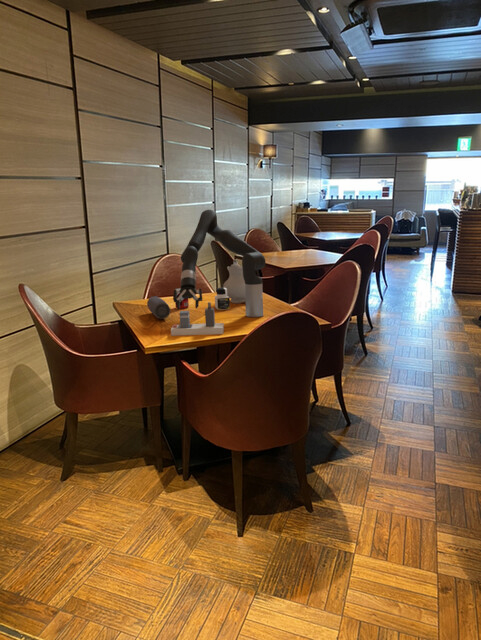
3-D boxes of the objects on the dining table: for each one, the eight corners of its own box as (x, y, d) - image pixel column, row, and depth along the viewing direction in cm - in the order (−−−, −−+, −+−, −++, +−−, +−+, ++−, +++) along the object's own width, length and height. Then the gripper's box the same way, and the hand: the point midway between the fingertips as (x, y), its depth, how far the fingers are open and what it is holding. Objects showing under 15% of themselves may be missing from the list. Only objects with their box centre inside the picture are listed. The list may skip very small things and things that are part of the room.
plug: (190, 331, 230) (189, 310, 228) (189, 333, 226) (188, 312, 224) (181, 331, 230) (180, 311, 228) (180, 333, 226) (179, 313, 224)
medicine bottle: (217, 310, 273) (216, 289, 270) (215, 308, 280) (214, 287, 277) (230, 309, 275) (229, 288, 272) (227, 306, 281) (226, 286, 278)
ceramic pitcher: (218, 301, 304) (214, 262, 297) (246, 295, 311) (242, 257, 304) (232, 307, 284) (228, 265, 278) (262, 301, 292) (258, 260, 285)
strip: (223, 329, 232) (222, 300, 228) (223, 333, 223) (221, 304, 220) (174, 330, 232) (172, 302, 229) (171, 335, 224) (169, 306, 220)
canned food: (189, 306, 287) (188, 287, 285) (188, 308, 280) (187, 290, 277) (176, 306, 287) (175, 288, 285) (175, 309, 279) (173, 290, 277)
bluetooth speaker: (146, 313, 272) (145, 296, 270) (163, 311, 275) (161, 294, 273) (154, 322, 251) (152, 303, 249) (171, 320, 254) (170, 301, 252)
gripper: (203, 284, 248) (202, 311, 239) (175, 285, 248) (173, 312, 239) (201, 276, 241) (201, 303, 233) (173, 277, 241) (171, 304, 233)
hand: (187, 307), depth 236 cm, fingers open, 8 cm apart
